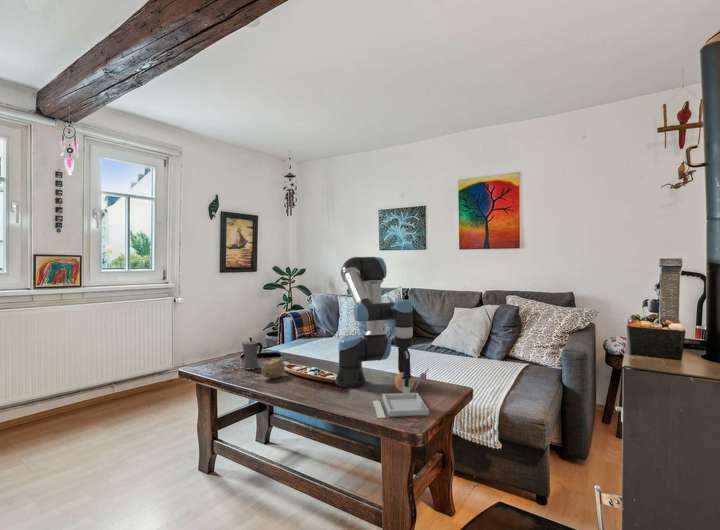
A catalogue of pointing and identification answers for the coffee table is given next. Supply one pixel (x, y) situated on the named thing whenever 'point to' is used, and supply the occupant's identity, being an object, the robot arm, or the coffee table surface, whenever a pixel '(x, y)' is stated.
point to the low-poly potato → (273, 368)
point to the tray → (404, 405)
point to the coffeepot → (251, 353)
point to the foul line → (379, 409)
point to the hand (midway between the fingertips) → (404, 390)
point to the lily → (422, 378)
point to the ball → (400, 382)
